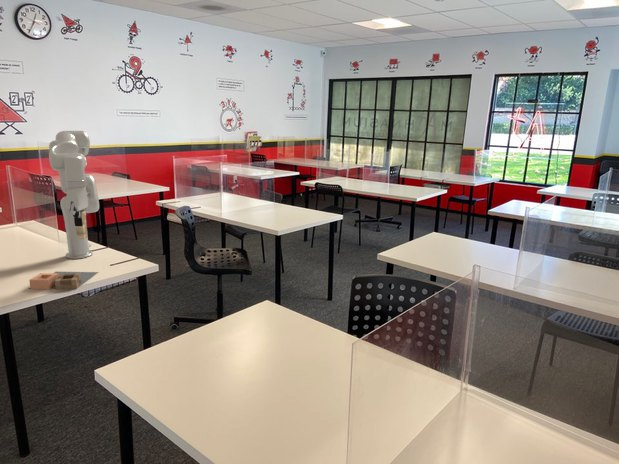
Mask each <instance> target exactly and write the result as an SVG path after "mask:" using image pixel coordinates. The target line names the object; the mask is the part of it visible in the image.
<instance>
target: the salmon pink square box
mask: <svg viewBox="0 0 619 464" xmlns="http://www.w3.org/2000/svg"><path fill="white" fill-rule="evenodd" d="M58 276H59V273H54V272H52V273H49V272H48V273H47V272H40V273H38V274H37V275H34V276H32V277H31V278H30V279H28V280H29V281H28V282H29V288H31V289H30V290H52V289H51V288H52V287H54V286H55V280H56V279H57V278H58Z"/></svg>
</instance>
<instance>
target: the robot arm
mask: <svg viewBox="0 0 619 464" xmlns="http://www.w3.org/2000/svg"><path fill="white" fill-rule="evenodd" d="M90 144H91V140H90V136H89V135H88V133H87V131H86V132H85V131H83V130H61V131H59V132H58V133H57V134H56V135H55V140H52V141H51V142H49V145H48V148H49V151H48V159H49V160H48V161H49V164H50V167H51V169H52V170H53V171H55V172H56V171H57V172H58V176H59V182H60V187H61V190H62V191H61V192H63V193H64V194H66V196H63V197H62V198H61V199H60V209H61V211H62V215H63V221H64V227H65V235H66V241H67V242H66V243H67V250H68V252H67V253H65V258H67V259H69V260H73V259H74V260H76V259H77V260H78V259H79V260H80V259H84V258H89V257H91V256H93V251H92V250H90V248H91V247H92V243H89V239H88V238H89V237H87V238H86V239H77V232H76V226H83V224H82V217H81V213H80V211H81V210H83V209H85V216H86V217H87V214H91V213H96V212H98V211H99V210H100V201H99V194H98V190H97V184H96V180H95V178H94V176H93V175H92V174H89V173H87V174H86V173H85V172H86V171H85V168H86V167H87V165H88V164H87V163H88V161H87V158H86V157H87V155H88V154H89V150H90ZM75 209H77V210H75ZM76 212H78V213H76ZM87 219H88V218H86V225H87V224H88V222H87V221H88V220H87Z"/></svg>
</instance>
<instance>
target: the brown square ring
mask: <svg viewBox="0 0 619 464" xmlns="http://www.w3.org/2000/svg"><path fill="white" fill-rule="evenodd" d="M80 283H81V276H80V273H74V274H60V275H59V276H58V278H57V279H56V280H55V286H56V289H55V291H59V290H60V291H62V290H70V289H76V288H77V289H79V288H78V286H79V284H80ZM77 289H76V290H77Z"/></svg>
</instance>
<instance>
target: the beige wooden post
mask: <svg viewBox="0 0 619 464" xmlns="http://www.w3.org/2000/svg"><path fill="white" fill-rule="evenodd" d="M75 210H77V209H75ZM76 213H78V212H76ZM80 213H81V217H82V224H83V226H76V232H77V239H86V238H87V237H88V228H87V227H88V225H87V224H86V219H87V215H86V216H85V209H83V210H81V211H80ZM88 238H89V237H88Z"/></svg>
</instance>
